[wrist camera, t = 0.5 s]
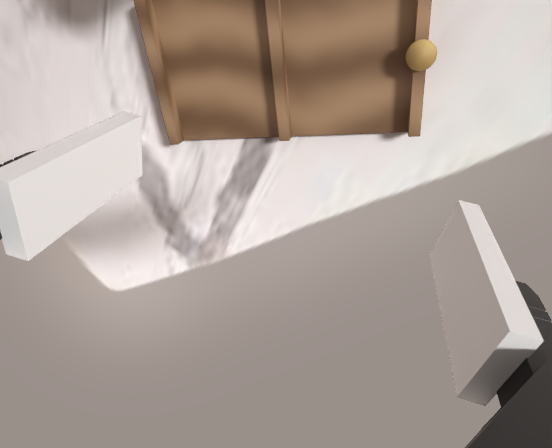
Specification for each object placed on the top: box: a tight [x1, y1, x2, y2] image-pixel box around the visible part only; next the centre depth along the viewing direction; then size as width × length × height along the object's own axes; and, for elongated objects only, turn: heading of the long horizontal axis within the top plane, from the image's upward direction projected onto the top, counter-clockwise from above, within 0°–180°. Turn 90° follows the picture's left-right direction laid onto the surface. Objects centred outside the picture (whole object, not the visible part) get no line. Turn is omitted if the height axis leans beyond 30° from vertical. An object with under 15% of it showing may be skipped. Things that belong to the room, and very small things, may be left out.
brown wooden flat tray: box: [134, 0, 437, 145], centre depth 35 cm, size 14×27×3 cm, turn 96°
